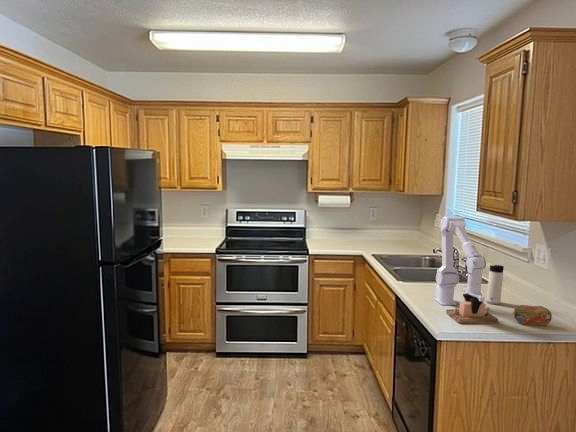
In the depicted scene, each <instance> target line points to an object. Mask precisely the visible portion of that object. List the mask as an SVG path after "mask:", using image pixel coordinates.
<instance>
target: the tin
mask: <svg viewBox="0 0 576 432" xmlns="http://www.w3.org/2000/svg"><path fill="white" fill-rule="evenodd" d="M513 318H514V320H516V321H517V323H519V324H521V325H525V326H538V325H539V327H540V326H542V327H543V326H546V325H549V324H550V323H551V321H552V318H553V315H552V312H551V311H550V309H548V308H547V307H544V306H542V305H530V304H529V305H528V304H520V305H517V306H516V307H515V308H514V310H513Z"/></svg>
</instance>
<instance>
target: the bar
mask: <svg viewBox="0 0 576 432" xmlns="http://www.w3.org/2000/svg"><path fill="white" fill-rule="evenodd" d="M486 305H487V304H486V303H484V302H483V303H482V304H481V305H480V307H479V310H478V312H477V314H473V313H472V306H471V301H465V300H462V301H459V308H458V309H459V314H460V315H461V316H462V317H479V316H485V311H486V308H487V307H486Z"/></svg>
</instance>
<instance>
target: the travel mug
mask: <svg viewBox="0 0 576 432" xmlns="http://www.w3.org/2000/svg"><path fill="white" fill-rule="evenodd" d="M504 267H505V266H504V265H500V264H494V265H491V264H490V265H489V273H488V283H487V290H486V291H487V293H486V303H487V304H489V305H494V306H499V305H500V304H501V299H502V290H503V289H502V288H503V281H504V280H503V278H504Z"/></svg>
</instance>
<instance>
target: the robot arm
mask: <svg viewBox="0 0 576 432" xmlns="http://www.w3.org/2000/svg"><path fill="white" fill-rule="evenodd" d="M466 225H467V224H466V221H465V218H464V217H463V216H461V215H460V216H442V219H441V220H440V233H441V261H442V262H441V266H440V267H438V269H436V275H435V281H436V283H437V284H436V287H435V294H434V295H435V297H433V300H434V301H436V302H437V303H438V304H440V305H442V306H456V305H457V302H455V301H454V295H455V287H456V286H457V285H459V282H460V276H459V272H458V271H459V270H457V268H455V267H454V235H455V234H456V236H457V237H458V239H459V241H460V242H461V250H462V253H463V254H464V257H465V258H466V261H465V263H466V264H465V265H466V267H467V268H466V271H467V284H466V286H464V287H463V288H462V291H463V294H462V297H463V298H464V301H471V306H472V313H473V314H477V312H478V310H479V307H480V305H481V304H482V303H484V302H485V297H484V295H483V294H482V293H481V291H482V282H483V281H482V280H483V270H484V269H486V267H487V261H486V258H485V257H484V256H483V255H482V254H481V253H480V252H479V250H478V249H477V247H476V245H475V243H474V242H472V241H471V240H470V237H469V235H468V233H467V230H466Z"/></svg>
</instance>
